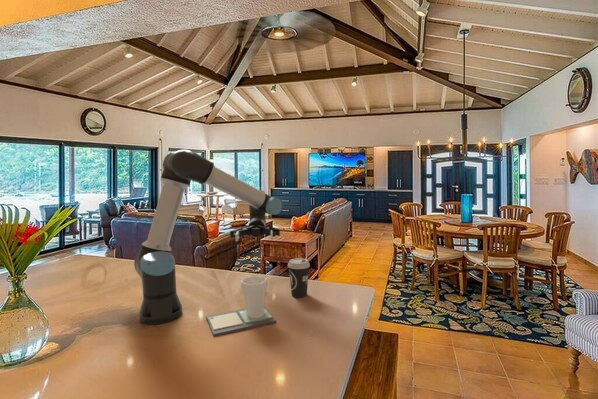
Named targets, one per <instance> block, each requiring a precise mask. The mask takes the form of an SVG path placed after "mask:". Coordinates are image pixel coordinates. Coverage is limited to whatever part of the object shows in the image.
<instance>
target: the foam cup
mask: <svg viewBox="0 0 598 399" xmlns="http://www.w3.org/2000/svg"><path fill="white" fill-rule="evenodd" d="M267 287H268V278H267V277H265V276H261V275H251V276H246V277H243V278H242V279H241V280H240V288H241V291H242V296H243V302H244V307H245V308H244V309H246V314H247V316H248V317H250V318H258V317H261V316H263V314H264V308H266V307H265V306H266V298H267V297H266V296H267Z"/></svg>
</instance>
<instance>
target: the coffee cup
mask: <svg viewBox="0 0 598 399" xmlns="http://www.w3.org/2000/svg"><path fill="white" fill-rule="evenodd" d="M310 267H311V264H310V262H309V260H308V259H306V258H302V257H301V258H297V257H296V258H292V259H290V260H289V262H288V263H287V268H288V274H289V282H290V291H291V292H290V293H291V296H292V297H293V298H296V299H297V298H298V299H301V298H305V297H307V295H308V282H309V271H310V270H309V268H310Z"/></svg>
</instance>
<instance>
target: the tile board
mask: <svg viewBox="0 0 598 399" xmlns="http://www.w3.org/2000/svg"><path fill="white" fill-rule="evenodd" d="M205 316H206V318H205V319H206V321H207V323H208V326H209V328H210V331H211V333H212V335H213V337H217V336H223V335H225V334H226V335H227V334H230V333H236V332H240V331H244V330H250V329H254V328H259V327H263V326H267V325H271V324H276V323H277V319H276V318H275V317H274V316H273V315H272V314H271V313H270V312H269V310H268V309H267V308H266V307H265V308H264V314H263V316H261V317H258V318H250V317H248V316H247V314H246V309H245V308H242V309H236V310H230V311H226V312H221V313H216V314H210V315H205Z"/></svg>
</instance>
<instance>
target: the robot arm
mask: <svg viewBox="0 0 598 399" xmlns="http://www.w3.org/2000/svg"><path fill="white" fill-rule="evenodd" d="M162 161H163V162H162V173H161V177H160V180H161V181H162V186H161V187H162V188H161V191H160V194H159V196H158V201H157V205H156V208H155V212H154V215H153V217H152V218H153V219H152V222H151V226H150V229H149V233H148V236H147V239H146V240H145V241H144V242H142V243H141V246H140V249H139V251H138V252H137V254H136V256H135V258H134V260H133V261H134V263H133V264H134V265H133V266H134V269H135V272H136V273H137V275H138V276H139V277H140V279H141V284H142V295H143V296H142V303H141V306H140V309H139V313H138V316H139V321H140V322H141V323H143V324H144V325H145V324H146V325H161V324H164V323H165V324H166V323H169V322H172V321H175V320H177V319H178V318H180V317H181V316H182V314H183V305H182V303H181V300H180V299H179V296H178V294H177V292H178V291H177V276H176V260H175V256H174V255H173V254H172V247H171V246H170V243H171V238H172V234H173V231H174V229H175V225H176V221H177V218H178V213H179V211H180V207H181V203H182V200H183V197H184V196H183V195H184V192H185V189H187V188H189V187H190V185H191V182H192V181H193V182H195V183H199V185H208V186H211V187H213V188H214V189H217V190H218V191H220V192H223V193H225V194H226V195H229V196H230V197H233V198H234V199H236V200H240V201H241V202H243V203H245V204H248V205H249V206H248V207H249V211H248V212H249V224H248V225H247V226H246V227H245V228H244V227H243V226H239V227H238V228H236V229H233V230H230V231H229V232H230V233H229V235H230V238H233V239H234V240H235V242H239V239H240V237H244V236H251V237H254V238H259V237H261V236H266V235H267V236H270V241H273V240H274V237H276V236H278V237H279V236H281V232H280V229H279V228H276V227H273V226H271V225H269V226H268V227H266V226H267V220H266V214H268V215H274V216H275V215H278V214H279V213H281V211H282V207H283V203H282V201H281V199H279V198H278V197H275V196H271V195H269V194H267V193H266V192H265V191H264V190H260V189H258V188H256V187H254V186H252V185H250V184H249V183H246V182H244V181H243V180H241V179H239V178H237V177H235V176H234V175H231V174H229V173H227V172H226V171H224V170H221V169H220V168H218V167H216V166H215V164H214V162H212V161H211V160H209V159H207V158H205V157H204V156H202V155H200V154H199V153H196V152H195V151H192V150H190V149H179V150H173V151H171V152H169V153H168V154H167V155H166V156H165V157H164V159H163V160H162Z"/></svg>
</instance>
